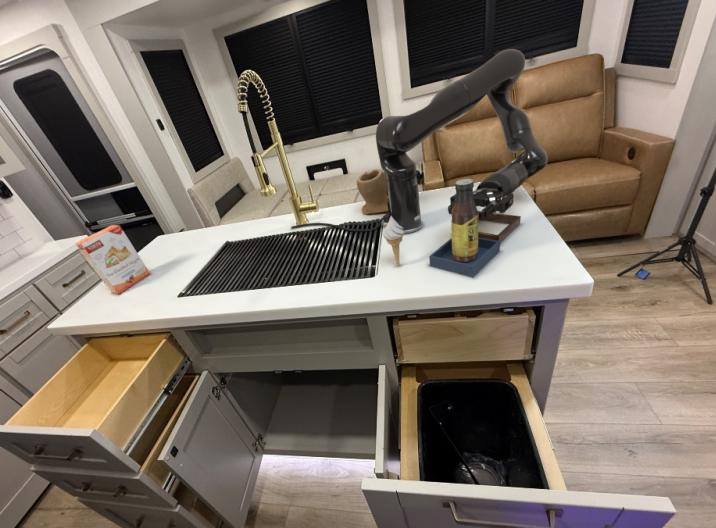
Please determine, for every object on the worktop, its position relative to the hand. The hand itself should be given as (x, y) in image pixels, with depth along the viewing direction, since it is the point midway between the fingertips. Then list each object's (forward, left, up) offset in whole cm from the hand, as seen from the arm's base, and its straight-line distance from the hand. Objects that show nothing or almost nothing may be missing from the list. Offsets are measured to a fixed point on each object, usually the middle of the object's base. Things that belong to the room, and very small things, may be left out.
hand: (465, 213), depth 82 cm
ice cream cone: (-14, -11, -13) cm, 22 cm away
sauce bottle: (0, -1, -12) cm, 12 cm away
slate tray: (0, -1, -13) cm, 13 cm away
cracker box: (-100, -64, -13) cm, 119 cm away
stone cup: (-44, +17, -13) cm, 49 cm away
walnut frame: (-2, +15, -13) cm, 20 cm away
